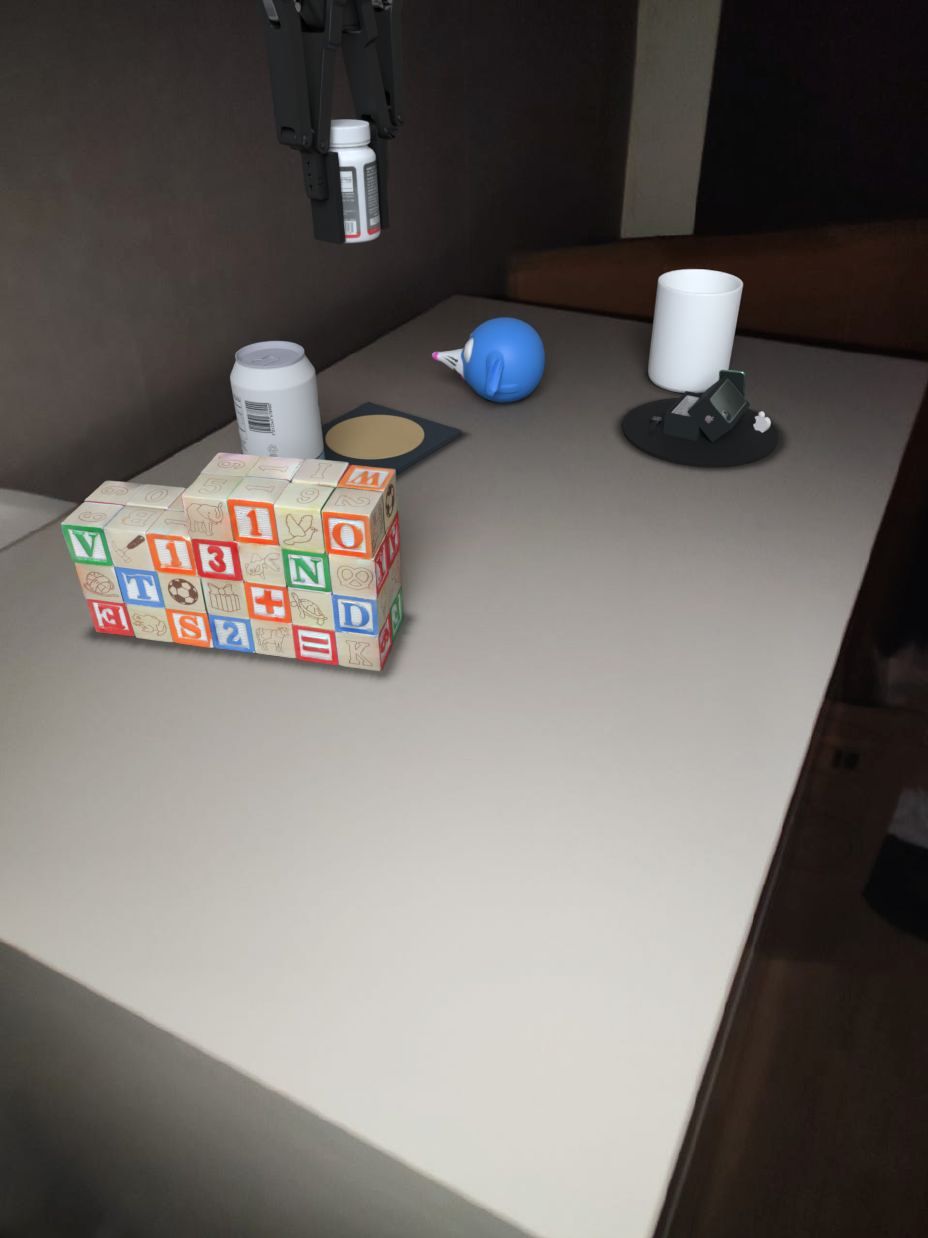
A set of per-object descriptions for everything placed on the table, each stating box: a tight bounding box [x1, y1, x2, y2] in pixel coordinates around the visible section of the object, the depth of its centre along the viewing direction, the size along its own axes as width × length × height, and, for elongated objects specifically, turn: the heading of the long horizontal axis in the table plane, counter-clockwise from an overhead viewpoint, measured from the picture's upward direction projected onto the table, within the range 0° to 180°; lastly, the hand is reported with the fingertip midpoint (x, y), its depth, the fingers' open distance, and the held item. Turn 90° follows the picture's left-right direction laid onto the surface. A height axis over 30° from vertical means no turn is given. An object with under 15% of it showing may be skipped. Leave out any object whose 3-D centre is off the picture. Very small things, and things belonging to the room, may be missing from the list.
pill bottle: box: [328, 118, 381, 244], centre depth 73 cm, size 5×5×8 cm
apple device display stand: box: [622, 369, 779, 468], centre depth 89 cm, size 15×15×6 cm
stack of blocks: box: [60, 451, 404, 672], centre depth 62 cm, size 21×6×12 cm, turn 78°
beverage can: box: [229, 340, 325, 461], centre depth 77 cm, size 7×7×12 cm
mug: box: [647, 268, 744, 394], centre depth 99 cm, size 9×12×11 cm
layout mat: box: [321, 401, 462, 476], centre depth 85 cm, size 12×24×1 cm, turn 144°
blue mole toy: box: [431, 316, 546, 404], centre depth 95 cm, size 12×12×8 cm
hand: (352, 232), depth 75 cm, fingers closed on pill bottle, 5 cm apart
